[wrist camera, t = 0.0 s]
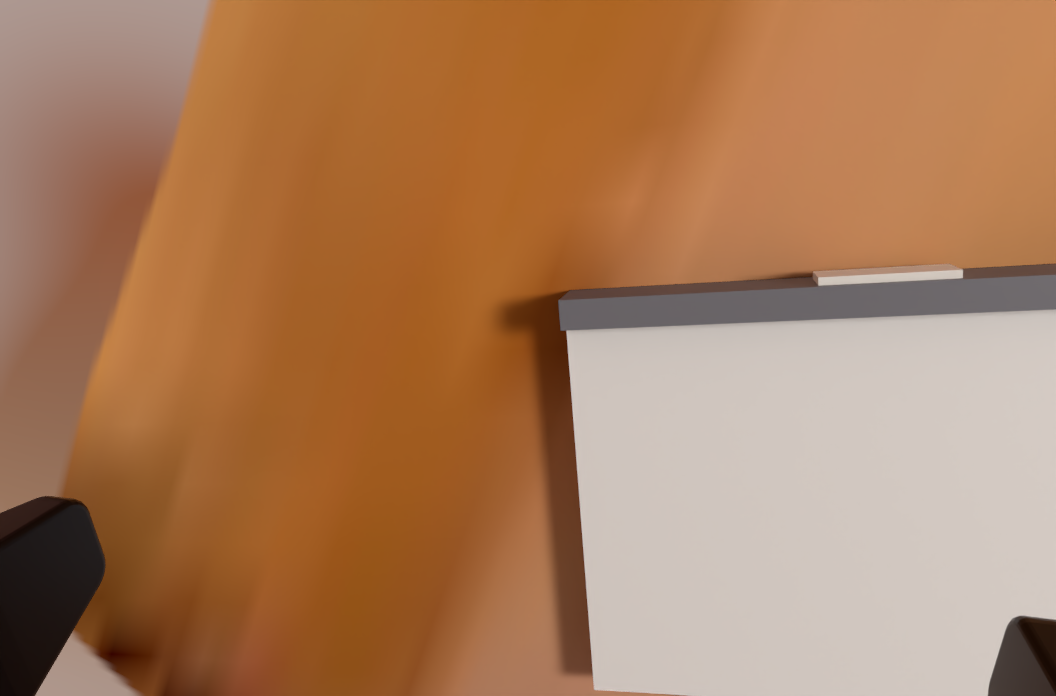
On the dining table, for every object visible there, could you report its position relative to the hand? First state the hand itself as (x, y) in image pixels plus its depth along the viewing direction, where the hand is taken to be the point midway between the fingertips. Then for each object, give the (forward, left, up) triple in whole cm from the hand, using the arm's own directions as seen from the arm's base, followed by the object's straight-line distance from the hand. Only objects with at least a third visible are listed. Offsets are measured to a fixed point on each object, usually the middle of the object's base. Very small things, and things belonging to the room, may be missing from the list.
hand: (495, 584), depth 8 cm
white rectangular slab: (+1, -8, -15) cm, 18 cm away
